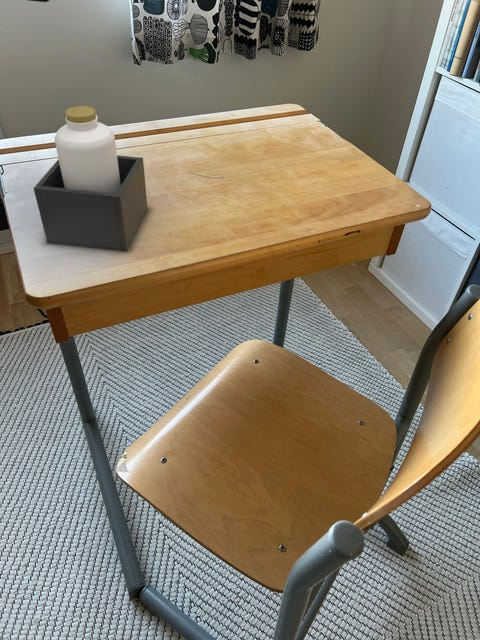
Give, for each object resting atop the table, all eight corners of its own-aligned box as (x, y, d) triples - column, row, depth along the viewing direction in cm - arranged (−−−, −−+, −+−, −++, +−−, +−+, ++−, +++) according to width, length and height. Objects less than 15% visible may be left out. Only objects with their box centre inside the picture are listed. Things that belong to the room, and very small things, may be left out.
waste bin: (47, 245, 79) (33, 188, 73) (76, 204, 88) (65, 150, 82) (127, 254, 78) (120, 196, 72) (148, 211, 88) (143, 157, 81)
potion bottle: (129, 211, 86) (116, 101, 74) (119, 239, 80) (103, 124, 68) (80, 208, 86) (59, 98, 74) (66, 236, 80) (40, 121, 68)
